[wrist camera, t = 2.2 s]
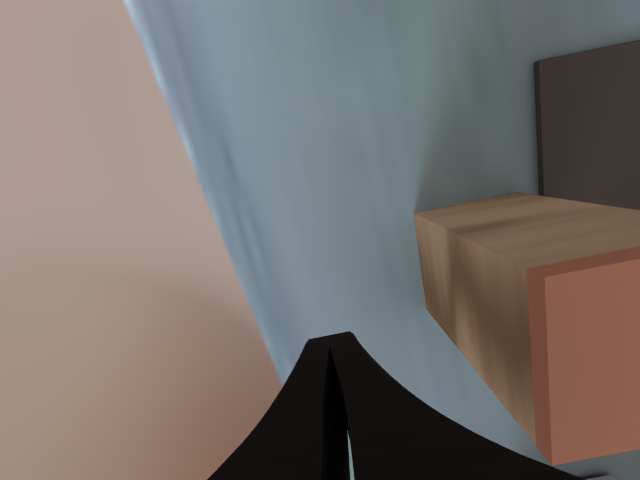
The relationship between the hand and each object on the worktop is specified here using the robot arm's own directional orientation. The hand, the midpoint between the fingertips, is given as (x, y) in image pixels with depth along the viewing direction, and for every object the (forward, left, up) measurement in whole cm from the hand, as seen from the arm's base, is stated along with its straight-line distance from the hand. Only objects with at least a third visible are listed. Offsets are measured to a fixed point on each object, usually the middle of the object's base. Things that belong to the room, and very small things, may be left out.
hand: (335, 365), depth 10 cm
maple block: (0, -7, -7) cm, 10 cm away
